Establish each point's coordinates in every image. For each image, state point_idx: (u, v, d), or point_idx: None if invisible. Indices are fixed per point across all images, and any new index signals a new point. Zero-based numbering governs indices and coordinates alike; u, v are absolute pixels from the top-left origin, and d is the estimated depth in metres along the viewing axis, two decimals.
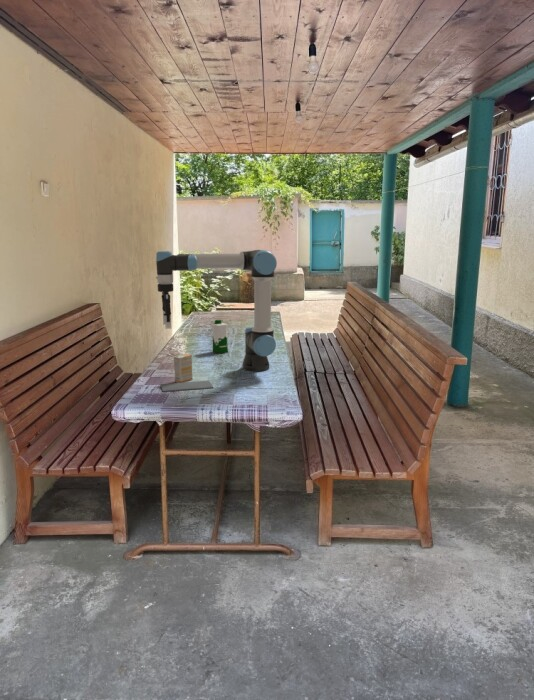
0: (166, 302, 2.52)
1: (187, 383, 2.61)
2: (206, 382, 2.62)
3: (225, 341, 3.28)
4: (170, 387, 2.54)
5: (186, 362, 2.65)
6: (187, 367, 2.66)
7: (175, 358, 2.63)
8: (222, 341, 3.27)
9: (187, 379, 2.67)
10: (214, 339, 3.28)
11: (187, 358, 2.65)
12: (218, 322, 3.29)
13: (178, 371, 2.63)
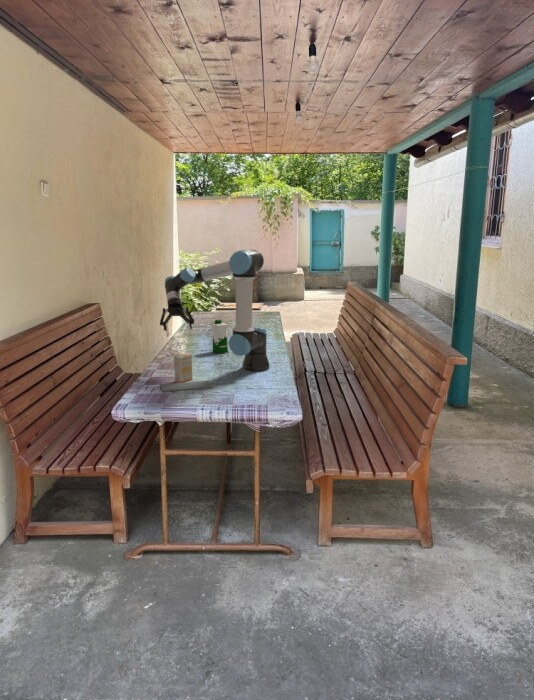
0: (162, 315, 2.81)
1: (187, 383, 2.61)
2: (206, 382, 2.62)
3: (225, 341, 3.28)
4: (170, 387, 2.54)
5: (186, 362, 2.65)
6: (187, 367, 2.66)
7: (175, 358, 2.63)
8: (222, 341, 3.27)
9: (187, 379, 2.67)
10: (214, 339, 3.28)
11: (187, 358, 2.65)
12: (218, 322, 3.29)
13: (178, 371, 2.63)
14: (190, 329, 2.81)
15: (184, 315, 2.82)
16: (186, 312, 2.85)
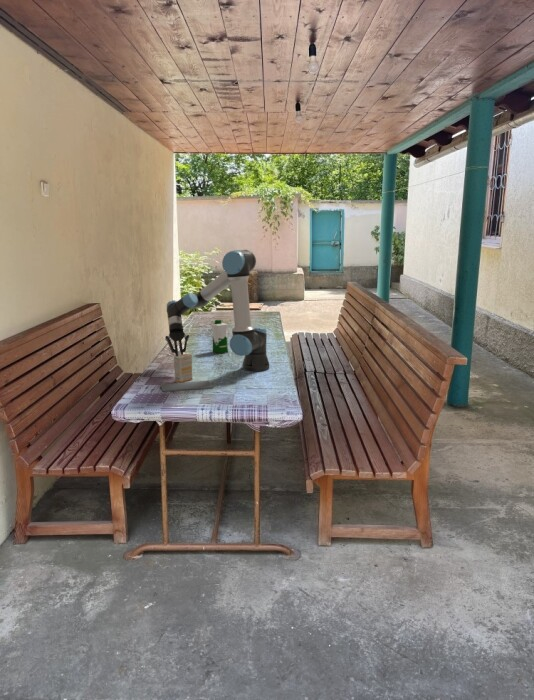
0: (168, 343, 2.82)
1: (187, 383, 2.61)
2: (206, 382, 2.62)
3: (225, 341, 3.28)
4: (170, 387, 2.54)
5: (186, 362, 2.65)
6: (187, 367, 2.66)
7: (175, 358, 2.63)
8: (222, 341, 3.27)
9: (187, 379, 2.67)
10: (214, 339, 3.28)
11: (187, 358, 2.65)
12: (218, 322, 3.29)
13: (178, 371, 2.63)
14: None
15: (180, 342, 2.82)
16: (185, 339, 2.85)
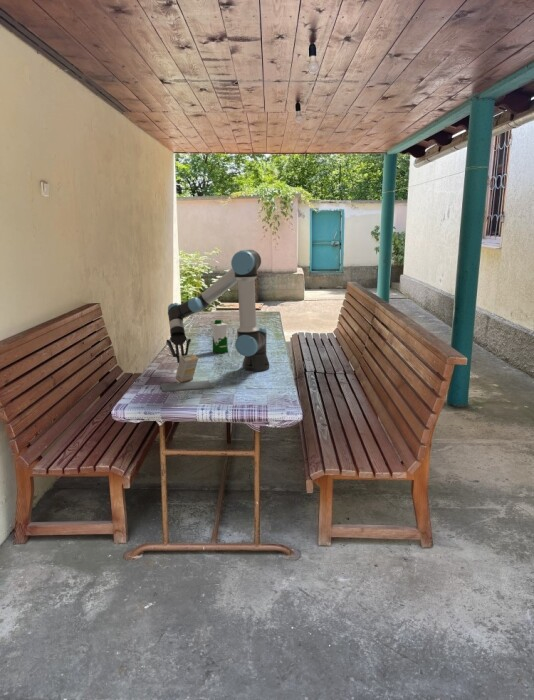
0: (169, 347, 2.73)
1: (187, 383, 2.61)
2: (206, 382, 2.62)
3: (225, 341, 3.28)
4: (170, 387, 2.54)
5: (191, 364, 2.62)
6: (191, 369, 2.64)
7: (181, 359, 2.60)
8: (222, 341, 3.27)
9: (187, 379, 2.67)
10: (214, 339, 3.28)
11: (193, 361, 2.62)
12: (218, 322, 3.29)
13: (181, 372, 2.62)
14: None
15: (182, 346, 2.73)
16: None
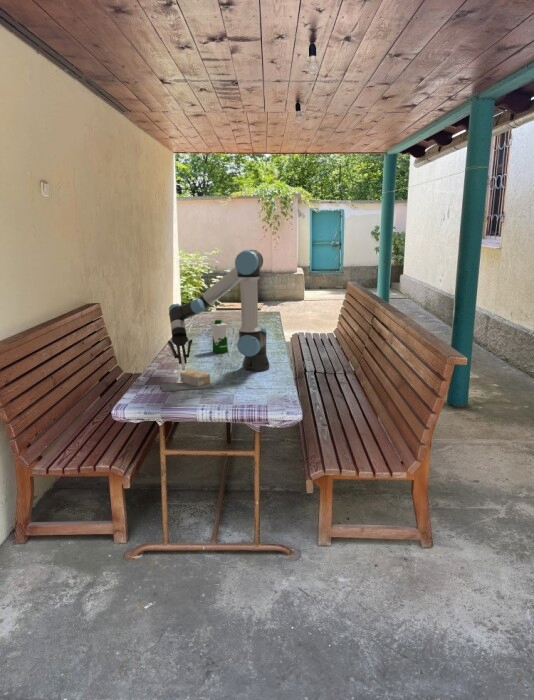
0: (171, 348, 2.70)
1: None
2: None
3: (225, 341, 3.28)
4: (170, 387, 2.54)
5: None
6: None
7: (197, 380, 2.55)
8: (222, 341, 3.27)
9: None
10: (214, 339, 3.28)
11: None
12: (218, 322, 3.29)
13: (188, 381, 2.59)
14: (185, 363, 2.67)
15: (184, 347, 2.70)
16: (188, 344, 2.73)
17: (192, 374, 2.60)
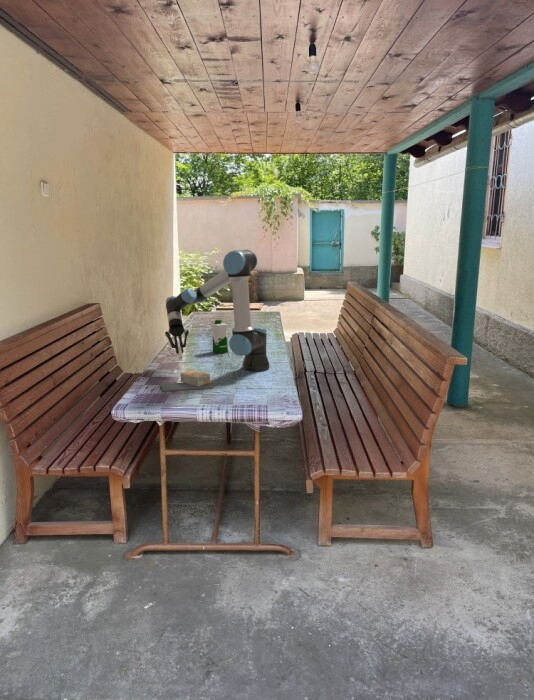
0: (168, 338, 2.82)
1: None
2: None
3: (225, 341, 3.28)
4: (170, 387, 2.54)
5: None
6: None
7: (197, 380, 2.55)
8: (222, 341, 3.27)
9: None
10: (214, 339, 3.28)
11: None
12: (218, 322, 3.29)
13: (188, 381, 2.59)
14: None
15: (180, 337, 2.82)
16: (185, 334, 2.85)
17: (192, 374, 2.60)
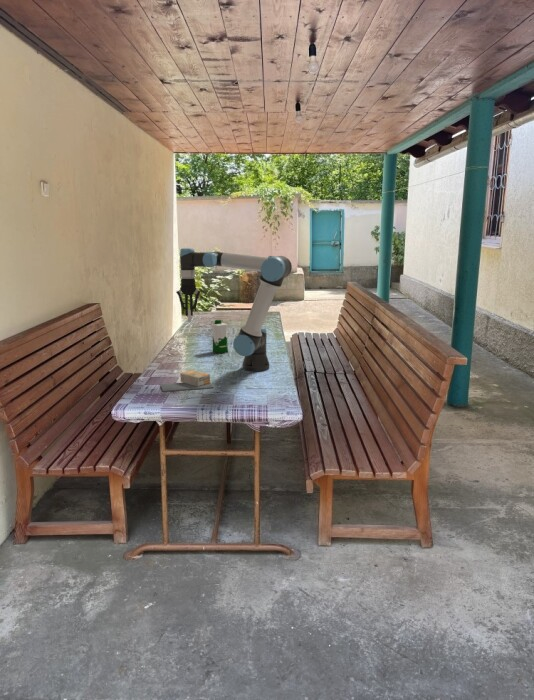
0: (179, 298, 2.82)
1: None
2: None
3: (225, 341, 3.28)
4: (170, 387, 2.54)
5: None
6: None
7: (197, 380, 2.55)
8: (222, 341, 3.27)
9: None
10: (214, 339, 3.28)
11: None
12: (218, 322, 3.29)
13: (188, 381, 2.59)
14: None
15: (191, 299, 2.83)
16: (196, 294, 2.84)
17: (192, 374, 2.60)
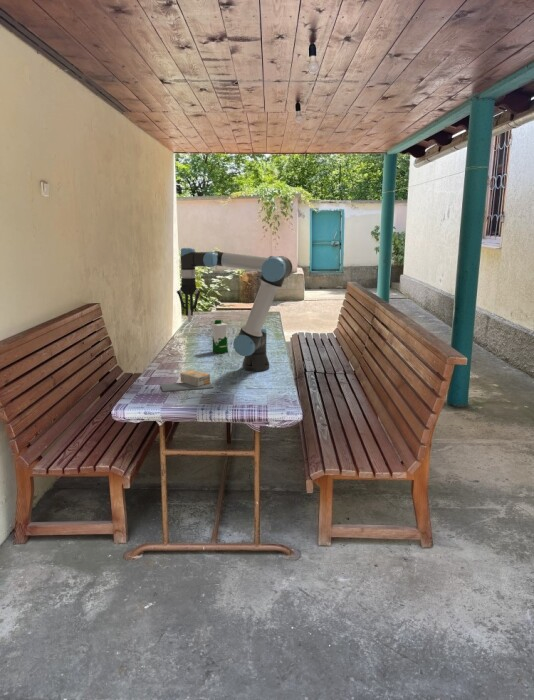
0: (179, 297, 2.82)
1: None
2: None
3: (225, 341, 3.28)
4: (170, 387, 2.54)
5: None
6: None
7: (197, 380, 2.55)
8: (222, 341, 3.27)
9: None
10: (214, 339, 3.28)
11: None
12: (218, 322, 3.29)
13: (188, 381, 2.59)
14: (191, 314, 2.86)
15: (192, 299, 2.82)
16: (196, 294, 2.84)
17: (192, 374, 2.60)
